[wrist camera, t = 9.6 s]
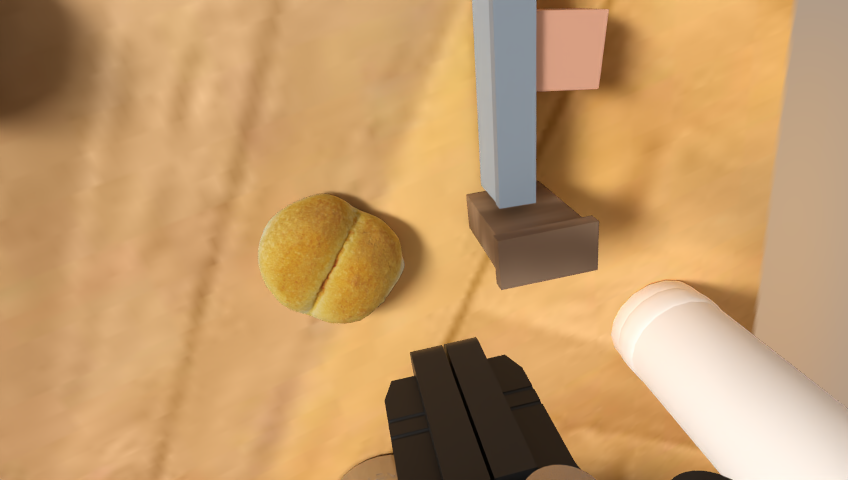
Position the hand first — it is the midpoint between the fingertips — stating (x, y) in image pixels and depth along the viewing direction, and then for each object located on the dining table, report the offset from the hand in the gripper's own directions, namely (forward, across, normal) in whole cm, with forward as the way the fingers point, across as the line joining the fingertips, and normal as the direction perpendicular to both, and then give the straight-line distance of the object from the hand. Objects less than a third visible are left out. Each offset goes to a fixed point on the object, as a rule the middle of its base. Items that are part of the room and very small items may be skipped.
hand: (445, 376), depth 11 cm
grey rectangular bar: (+22, -8, -3) cm, 23 cm away
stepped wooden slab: (+22, -8, +6) cm, 24 cm away
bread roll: (+22, +4, +7) cm, 24 cm away
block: (+22, -11, -4) cm, 25 cm away
